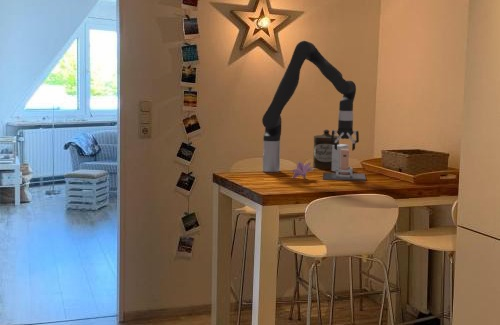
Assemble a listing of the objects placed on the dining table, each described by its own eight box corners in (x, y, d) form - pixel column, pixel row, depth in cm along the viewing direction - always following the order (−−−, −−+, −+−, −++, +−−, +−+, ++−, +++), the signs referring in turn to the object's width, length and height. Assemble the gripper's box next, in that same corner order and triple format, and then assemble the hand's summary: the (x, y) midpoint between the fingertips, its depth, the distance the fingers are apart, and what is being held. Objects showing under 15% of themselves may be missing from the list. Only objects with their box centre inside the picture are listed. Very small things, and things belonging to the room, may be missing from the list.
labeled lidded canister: (312, 168, 354) (313, 130, 351) (314, 164, 369) (314, 128, 365) (338, 169, 352) (339, 131, 349) (339, 165, 366) (340, 128, 363)
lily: (317, 180, 322) (312, 163, 325) (315, 175, 311) (310, 158, 314) (295, 187, 324) (290, 170, 327) (292, 182, 313) (287, 164, 316)
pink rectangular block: (340, 174, 329) (340, 148, 327) (347, 174, 328) (348, 148, 326) (340, 176, 322) (341, 150, 320) (348, 176, 322) (348, 150, 320)
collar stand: (322, 179, 319) (323, 170, 318) (323, 174, 335) (323, 165, 334) (366, 180, 316) (366, 171, 316) (364, 175, 332) (364, 166, 331)
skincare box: (341, 169, 351) (341, 143, 349) (349, 171, 347) (349, 144, 345) (330, 171, 346) (331, 144, 344) (338, 172, 342) (339, 145, 339)
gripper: (359, 119, 324) (358, 149, 326) (331, 118, 325) (330, 148, 328) (359, 120, 316) (358, 151, 319) (331, 119, 318) (330, 150, 321)
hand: (344, 150), depth 323 cm, fingers open, 8 cm apart
